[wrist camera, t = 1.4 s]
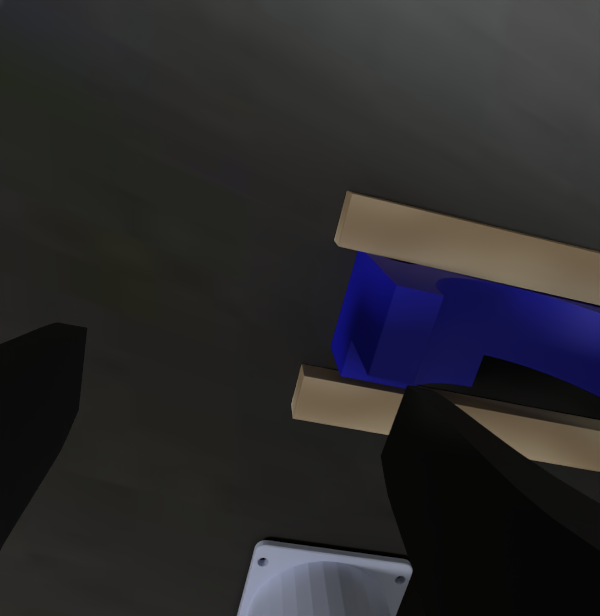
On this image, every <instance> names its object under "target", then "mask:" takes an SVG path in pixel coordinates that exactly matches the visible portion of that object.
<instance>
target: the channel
mask: <svg viewBox="0 0 600 616" xmlns="http://www.w3.org/2000/svg"><path fill="white" fill-rule="evenodd" d="M334 241H335V242H336V244H337V245H338V246H340V247H344V248H348V249H353V250H357V251H362V252H366V253H371V254H375V255H379V256H384V257H388V258H393V259H397V260H401V261H406V262H410V263H415V264H419V265H424V266H428V267H432V268H437V269H441V270H446V271H450V272H455V273H459V274H463V275H468V276H472V277H477V278H481V279H485V280H490V281H494V282H499V283H503V284H508V285H512V286H516V287H521V288H525V289H530V290H534V291H539V292H543V293H547V294H552V295H556V296H561V297H565V298H569V299H574V300H578V301H583V302H587V303H592V304H596V305H600V252H598V251H594V250H590V249H586V248H582V247H577V246H573V245H569V244H565V243H561V242H557V241H553V240H549V239H545V238H540V237H536V236H532V235H528V234H524V233H520V232H516V231H512V230H508V229H503V228H499V227H495V226H491V225H487V224H483V223H479V222H475V221H471V220H466V219H462V218H458V217H454V216H450V215H446V214H442V213H438V212H434V211H429V210H425V209H421V208H417V207H413V206H409V205H405V204H401V203H397V202H392V201H388V200H384V199H380V198H376V197H372V196H368V195H364V194H360V193H355V192H351V191H347V193H346V197H345V201H344V205H343V208H342V212H341V216H340V220H339V224H338V228H337V231H336V235H335V239H334ZM415 387H421V388H426V389H431V390H433V391H435V392H437V393H439V394H440V395H442V396H443V397H445V398H446V399H448V400H449V401H451V402H452V403H453V404H455V405H456V406H458V407H459V408H460V409H462V410H463V411H464V412H466V413H467V414H468V415H470V416H471V417H472V418H473V419H475V420H476V421H477V422H479V423H480V424H481V425H483V426H484V427H485V428H487V429H488V430H489V431H491V432H492V433H493V434H495V435H496V436H497V437H499V438H500V439H501V440H503V441H504V442H505V443H507V444H508V445H509V446H511V447H512V448H514V449H515V450H516V451H518V452H519V453H521V454H522V455H523V456H525V457H526V458H528V459H530V460H536V461H541V462H547V463H553V464H559V465H565V466H570V467H576V468H582V469H588V470H593V471H599V472H600V420H596V419H590V418H585V417H580V416H575V415H569V414H564V413H559V412H553V411H548V410H543V409H538V408H532V407H527V406H522V405H517V404H511V403H506V402H501V401H495V400H490V399H485V398H480V397H474V396H469V395H464V394H459V393H453V392H448V391H443V390H438V389H432V388H427V387H422V386H415ZM404 392H405V389H404V388H399V387H394V386H388V385H383V384H378V383H373V382H368V381H363V380H358V379H353V378H348V377H342V376H340V373H339V371H337V370H332V369H327V368H322V367H316V366H311V365H306V364H302V365H301V369H300V373H299V377H298V381H297V384H296V388H295V392H294V396H293V400H292V404H291V406H292V415H293V419H299V420H305V421H311V422H317V423H322V424H328V425H334V426H340V427H345V428H351V429H357V430H363V431H368V432H374V433H380V434H386V435H389V433H390V430H391V427H392V424H393V422H394V419H395V416H396V414H397V411H398V408H399V406H400V403H401V400H402V397H403V395H404Z"/></svg>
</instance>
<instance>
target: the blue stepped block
mask: <svg viewBox="0 0 600 616" xmlns="http://www.w3.org/2000/svg"><path fill="white" fill-rule="evenodd" d="M331 349H332V352H333V355H334V358H335V361H336V364H337V367H338V370H339V373H340V376H342V377H348V378H353V379H358V380H363V381H368V382H373V383H378V384H383V385H388V386H394V387H399V388H404V389H406V387H407V385H410V386H416V385H421V384H429V383H446V384H456V385H463V386H469V387H472V384H473V382H474V379H475V377H476V374H477V371H478V369H479V366H480V364H481V361H482V358H483V356H484V355H486V356H491V357H495V358H499V359H503V360H506V361H510V362H513V363H516V364H520V365H523V366H526V367H529V368H532V369H535V370H538V371H540V372H543V373H546V374H548V375H551V376H553V377H556V378H558V379H561V380H563V381H566V382H568V383H570V384H573V385H575V386H577V387H579V388H582V389H584V390H586V391H588V392H590V393H592V394H594V395H596V396H598V397H600V305H596V304H592V303H587V302H583V301H578V300H574V299H569V298H565V297H561V296H556V295H552V294H547V293H543V292H539V291H534V290H530V289H525V288H521V287H516V286H512V285H508V284H503V283H499V282H494V281H490V280H485V279H481V278H477V277H472V276H468V275H463V274H459V273H455V272H450V271H446V270H441V269H437V268H432V267H428V266H424V265H419V264H415V263H410V262H406V261H401V260H397V259H393V258H388V257H384V256H379V255H375V254H371V253H366V252H362V251H358V253H357V256H356V260H355V263H354V267H353V270H352V274H351V277H350V281H349V284H348V288H347V291H346V295H345V298H344V302H343V305H342V309H341V312H340V316H339V319H338V323H337V326H336V330H335V333H334V337H333V340H332V344H331Z"/></svg>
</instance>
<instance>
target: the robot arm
mask: <svg viewBox="0 0 600 616" xmlns="http://www.w3.org/2000/svg"><path fill="white" fill-rule="evenodd" d="M86 333H87V328H85V327H80V326H74V325H68V324H63V323H53V324H50V325H47V326H44V327H41V328H39V329H36V330H34V331H31V332H29V333H26V334H24V335H22V336H19V337H17V338H14V339H12V340H9V341H7V342H4V343H2V344H0V550H1V548H2V546H3V544H4V542H5V541H6V539H7V537H8V536H9V534H10V533H11V531H12V529H13V528H14V526H15V524H16V523H17V521H18V520H19V518H20V516H21V515H22V513H23V511H24V510H25V508H26V507H27V505H28V503H29V502H30V500H31V498H32V497H33V495H34V494H35V492H36V490H37V489H38V487H39V485H40V484H41V482H42V481H43V479H44V477H45V476H46V474H47V472H48V471H49V469H50V467H51V466H52V464H53V462H54V461H55V459H56V457H57V456H58V454H59V452H60V451H61V449H62V447H63V445H64V442H65V440H66V438H67V436H68V433H69V431H70V429H71V427H72V424H73V422H74V419H75V417H76V415H77V412H78V410H79V401H80V391H81V382H82V372H83V362H84V353H85V343H86ZM381 459H382V466H383V472H384V478H385V483H386V488H387V493H388V497H389V500H390V503H391V507H392V510H393V513H394V516H395V519H396V522H397V525H398V528H399V531H400V534H401V537H402V540H403V543H404V546H405V549H406V552H407V555H408V557H409V560H410V562H409V561H408V560H406V559H401V558H393V557H386V556H379V555H371V554H364V553H357V552H349V551H342V550H335V549H328V548H320V547H313V546H306V545H298V544H291V543H284V542H277V541H269V540H263V541H260V542H258V543H257V544H256V546H255V549H254V553H253V556H252V560H251V564H250V568H249V572H248V576H247V579H246V583H245V587H244V591H243V595H242V598H241V602H240V606H239V610H238V614H237V616H396V614H397V611H398V609H399V606H400V604H401V601H402V598H403V596H404V593H405V591H406V588H407V585H408V583H409V580H410V577H411V575H412V571H413V572H414V575H415V578H416V581H417V584H418V587H419V591H420V594H421V598H422V601H423V605H424V608H425V612H426V616H600V503H598V502H596V501H594V500H593V499H591V498H589V497H588V496H586V495H584V494H583V493H581V492H579V491H578V490H576V489H574V488H573V487H571V486H569V485H568V484H566V483H564V482H563V481H561V480H559V479H558V478H556V477H555V476H553V475H551V474H550V473H548V472H547V471H545V470H544V469H542V468H541V467H539V466H538V465H537V464H535V463H534V462H532V461H531V460H529V459H528V458H526V457H525V456H523V455H522V454H521V453H519V452H518V451H516V450H515V449H514V448H512V447H511V446H509V445H508V444H507V443H505V442H504V441H503V440H501V439H500V438H499V437H497V436H496V435H495V434H493V433H492V432H491V431H489V430H488V429H487V428H485V427H484V426H483V425H481V424H480V423H479V422H477V421H476V420H475V419H473V418H472V417H471V416H470V415H468V414H467V413H466V412H464V411H463V410H462V409H460V408H459V407H458V406H456V405H455V404H453V403H452V402H451V401H449V400H448V399H446V398H445V397H443V396H442V395H440V394H439V393H437V392H435V391H433V390H431V389H426V388H421V387H415V386H410V385H407V387H406V389H405V392H404V395H403V397H402V400H401V403H400V406H399V408H398V411H397V414H396V416H395V419H394V422H393V424H392V427H391V430H390V433H389V435H388V438H387V441H386V443H385V446H384V449H383V451H382V454H381ZM260 558H266V559H265V560H260ZM410 563H411V564H410ZM399 576H401V577H399ZM397 577H399V578H397Z"/></svg>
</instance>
